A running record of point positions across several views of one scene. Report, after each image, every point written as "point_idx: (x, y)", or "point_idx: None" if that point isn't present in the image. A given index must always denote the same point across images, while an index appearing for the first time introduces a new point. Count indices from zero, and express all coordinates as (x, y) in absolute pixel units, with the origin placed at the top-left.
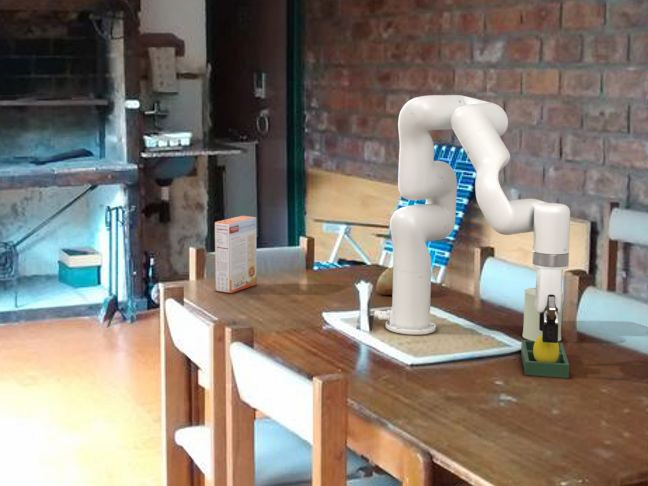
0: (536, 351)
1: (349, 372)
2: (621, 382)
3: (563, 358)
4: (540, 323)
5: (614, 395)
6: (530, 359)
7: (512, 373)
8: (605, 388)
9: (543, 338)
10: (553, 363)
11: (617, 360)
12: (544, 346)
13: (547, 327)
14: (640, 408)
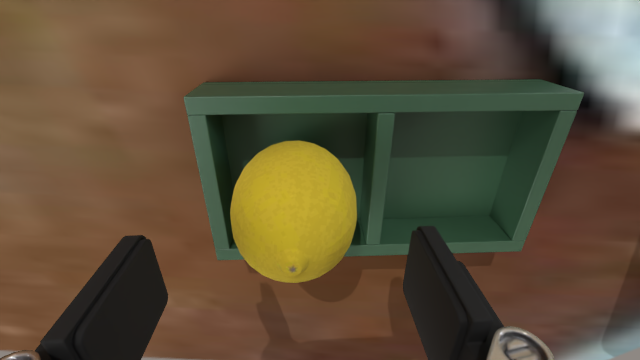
0: (252, 164)
1: None
2: (248, 334)
3: None
4: (429, 260)
5: None
6: (368, 116)
7: (206, 24)
8: (174, 303)
9: (117, 253)
10: (211, 211)
11: None
12: (231, 216)
13: (43, 347)
14: None
